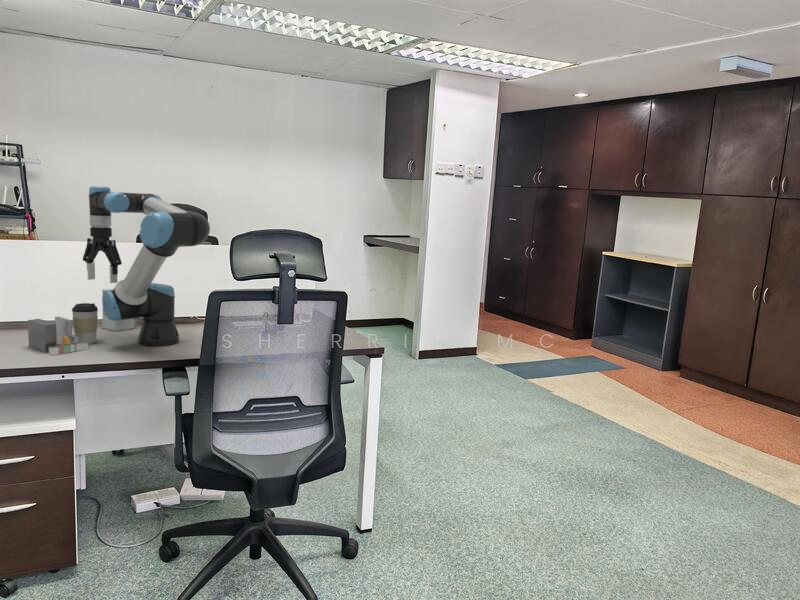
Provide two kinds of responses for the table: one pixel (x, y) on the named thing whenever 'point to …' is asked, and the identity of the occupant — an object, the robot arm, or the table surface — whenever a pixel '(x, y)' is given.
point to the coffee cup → (85, 322)
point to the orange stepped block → (66, 340)
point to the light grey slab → (64, 330)
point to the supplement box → (117, 324)
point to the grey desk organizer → (49, 338)
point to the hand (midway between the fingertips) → (102, 281)
